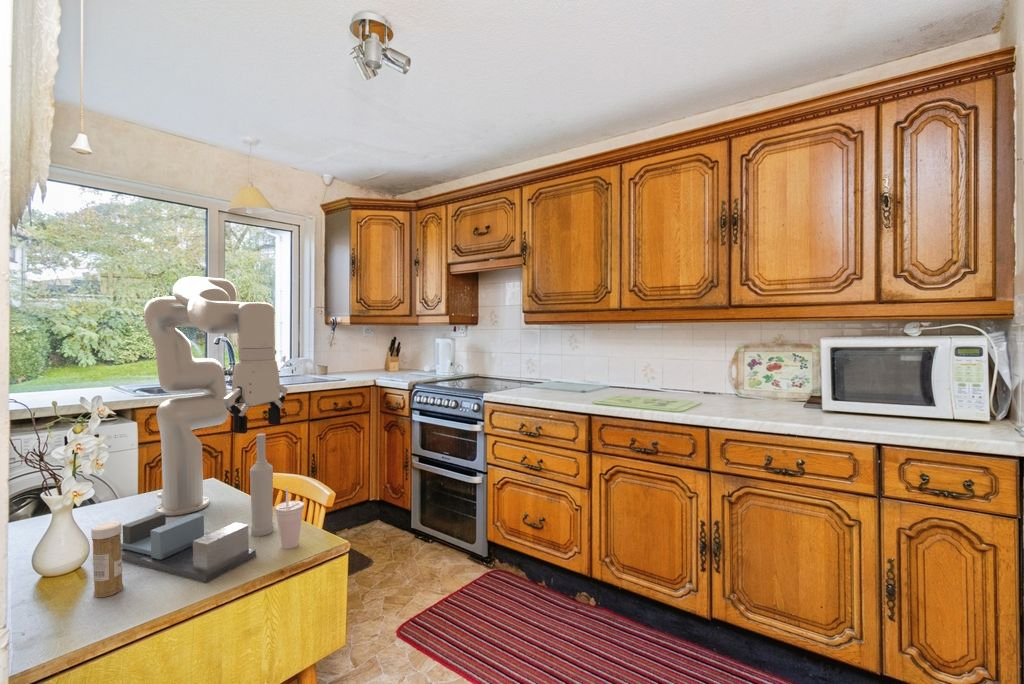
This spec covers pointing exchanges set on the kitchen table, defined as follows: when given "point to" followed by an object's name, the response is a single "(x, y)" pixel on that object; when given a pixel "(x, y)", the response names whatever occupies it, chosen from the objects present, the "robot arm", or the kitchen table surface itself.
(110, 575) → the spice jar
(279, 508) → the smoothie
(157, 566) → the clamp base
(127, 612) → the kitchen table surface
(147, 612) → the kitchen table surface
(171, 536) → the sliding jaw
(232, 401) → the robot arm
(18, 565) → the kitchen table surface
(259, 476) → the bottle
